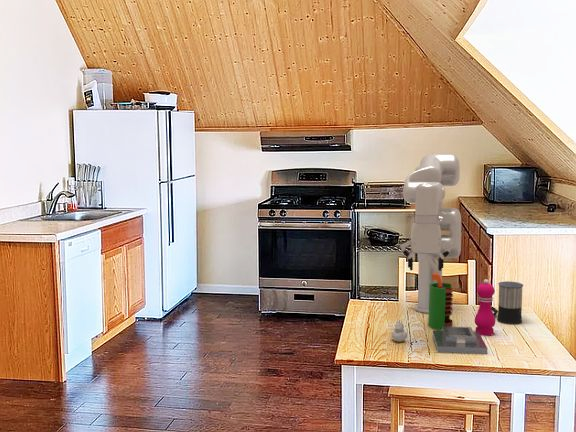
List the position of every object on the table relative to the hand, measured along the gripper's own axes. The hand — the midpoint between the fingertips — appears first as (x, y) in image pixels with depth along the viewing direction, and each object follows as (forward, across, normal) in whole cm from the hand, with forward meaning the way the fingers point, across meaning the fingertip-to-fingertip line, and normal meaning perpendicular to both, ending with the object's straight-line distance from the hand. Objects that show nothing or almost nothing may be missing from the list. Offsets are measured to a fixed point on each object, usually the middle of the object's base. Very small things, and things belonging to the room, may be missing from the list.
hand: (425, 269), depth 216 cm
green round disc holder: (+26, -8, -22) cm, 35 cm away
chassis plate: (+26, -12, -1) cm, 28 cm away
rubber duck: (+26, +8, -3) cm, 28 cm away
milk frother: (+25, -32, -33) cm, 53 cm away
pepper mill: (+26, -23, -14) cm, 38 cm away
